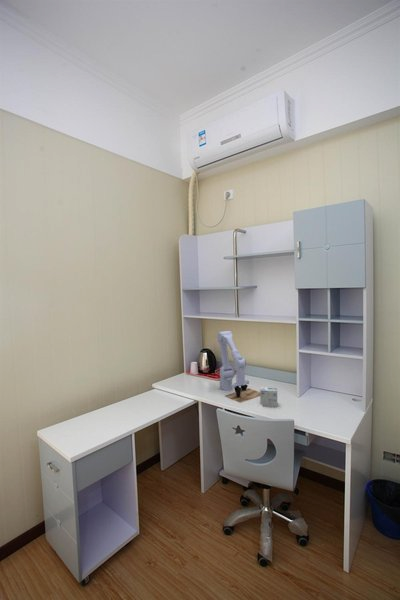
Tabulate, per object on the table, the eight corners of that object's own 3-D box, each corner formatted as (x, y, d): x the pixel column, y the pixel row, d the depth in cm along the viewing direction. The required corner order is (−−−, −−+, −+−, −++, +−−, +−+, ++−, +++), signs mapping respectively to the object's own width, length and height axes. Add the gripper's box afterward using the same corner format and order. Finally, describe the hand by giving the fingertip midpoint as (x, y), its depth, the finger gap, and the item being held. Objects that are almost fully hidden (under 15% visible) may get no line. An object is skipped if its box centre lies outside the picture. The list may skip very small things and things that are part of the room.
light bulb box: (277, 403, 199) (277, 387, 198) (277, 407, 192) (277, 390, 192) (260, 402, 202) (260, 386, 201) (260, 406, 195) (259, 389, 194)
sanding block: (235, 395, 211) (235, 389, 211) (239, 394, 213) (239, 388, 213) (242, 398, 205) (242, 392, 205) (246, 397, 208) (246, 391, 208)
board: (224, 397, 211) (224, 395, 211) (248, 389, 225) (248, 388, 225) (240, 404, 198) (240, 402, 198) (265, 395, 212) (265, 394, 212)
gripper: (236, 380, 201) (237, 400, 202) (252, 375, 210) (252, 394, 211) (229, 377, 207) (230, 397, 208) (244, 373, 215) (245, 392, 216)
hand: (240, 395), depth 209 cm, fingers closed on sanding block, 4 cm apart
